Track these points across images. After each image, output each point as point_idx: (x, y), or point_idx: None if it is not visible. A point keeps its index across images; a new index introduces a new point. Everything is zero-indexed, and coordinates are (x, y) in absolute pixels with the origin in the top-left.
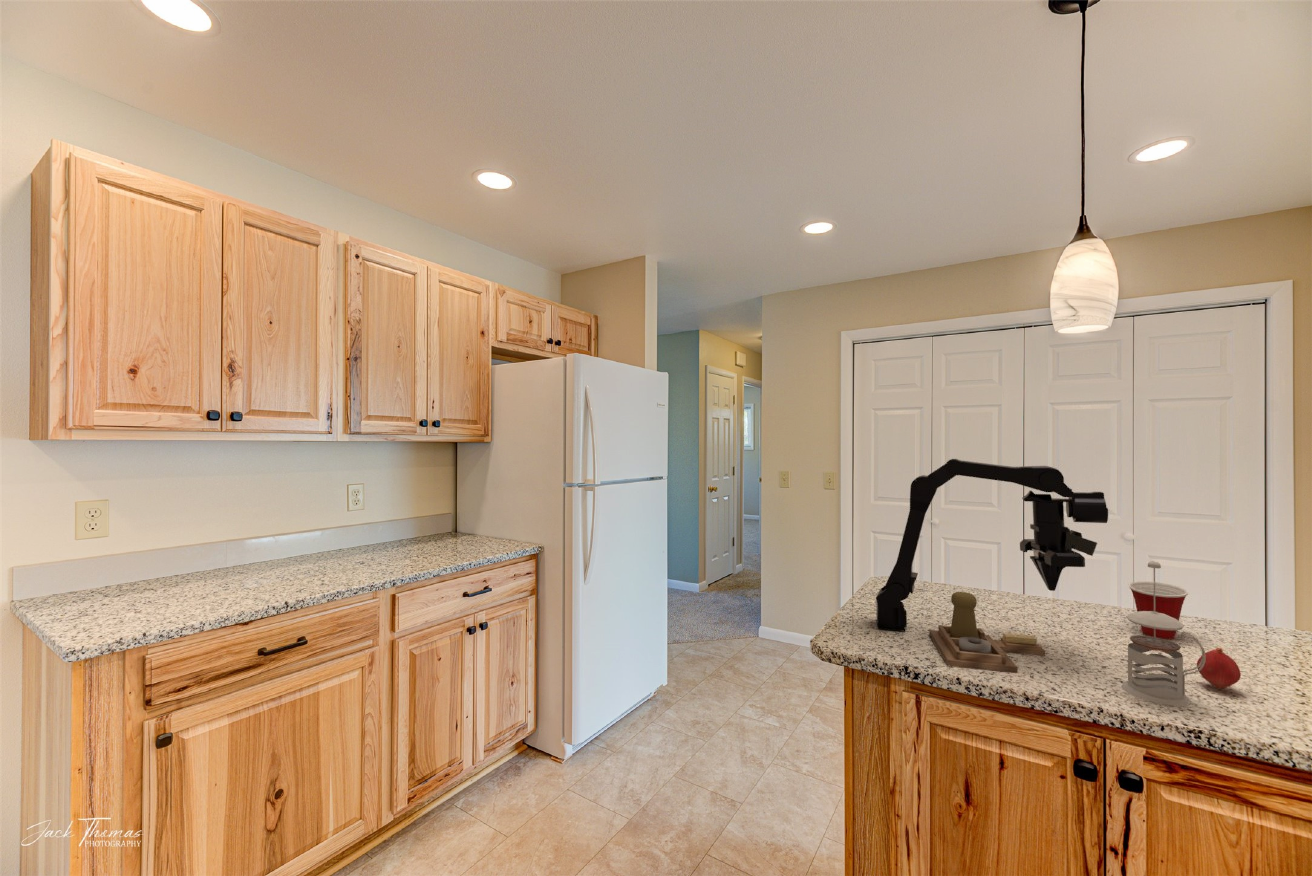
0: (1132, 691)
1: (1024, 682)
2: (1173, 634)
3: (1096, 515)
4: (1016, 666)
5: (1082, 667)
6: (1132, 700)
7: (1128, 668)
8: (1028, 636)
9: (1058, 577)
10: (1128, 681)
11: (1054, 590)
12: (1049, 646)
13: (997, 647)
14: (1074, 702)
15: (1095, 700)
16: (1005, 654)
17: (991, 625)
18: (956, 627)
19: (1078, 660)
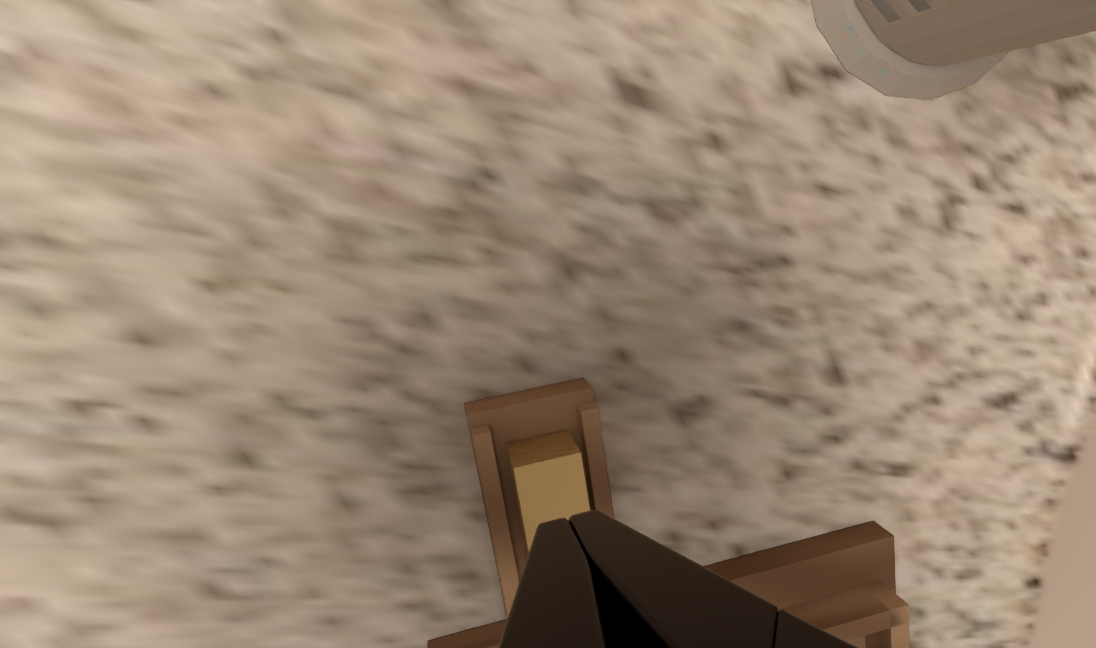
0: (974, 72)
1: (969, 500)
2: None
3: None
4: (889, 539)
5: (691, 217)
6: (1037, 104)
7: (998, 45)
8: (542, 493)
9: (777, 619)
10: (935, 61)
11: (592, 513)
12: (376, 329)
13: None
14: None
15: (1071, 261)
16: (740, 581)
17: (60, 638)
18: None
19: (579, 211)
